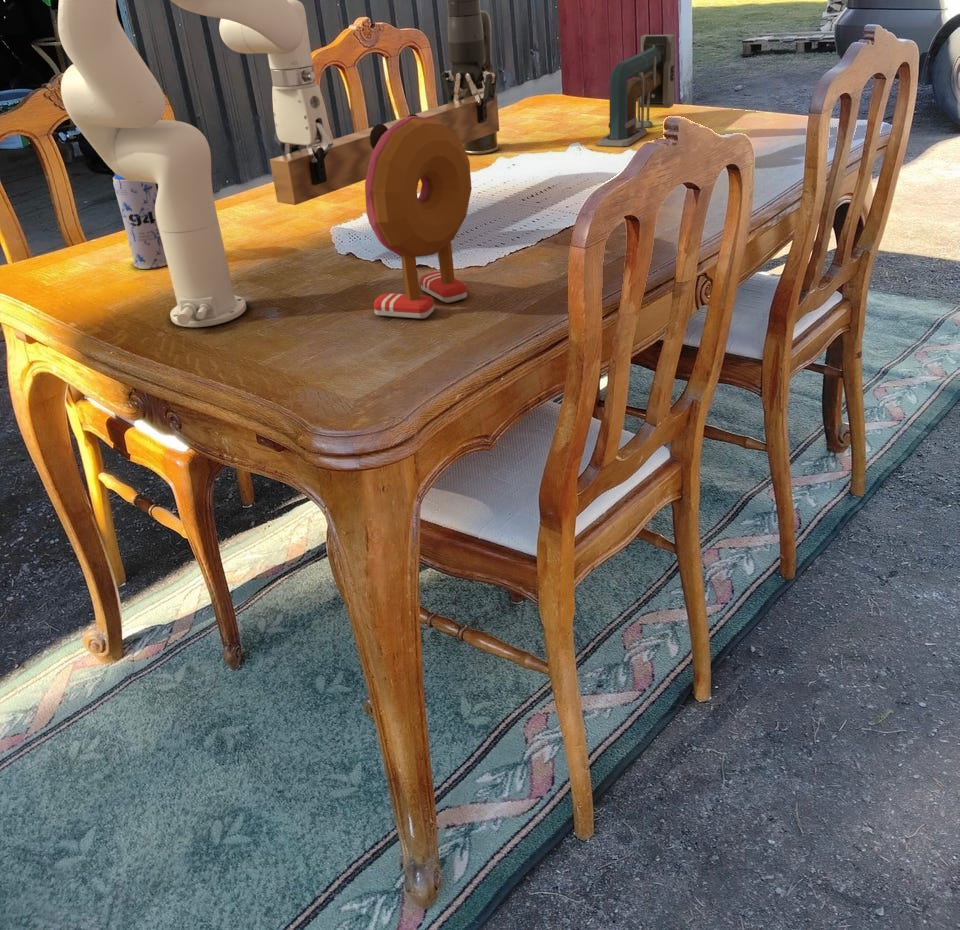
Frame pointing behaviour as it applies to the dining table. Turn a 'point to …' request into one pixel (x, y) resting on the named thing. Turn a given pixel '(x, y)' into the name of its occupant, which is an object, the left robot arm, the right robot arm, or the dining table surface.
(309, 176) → the post
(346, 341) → the dining table surface
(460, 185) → the toy
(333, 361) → the dining table surface
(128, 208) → the aerosol can
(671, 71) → the clamp
